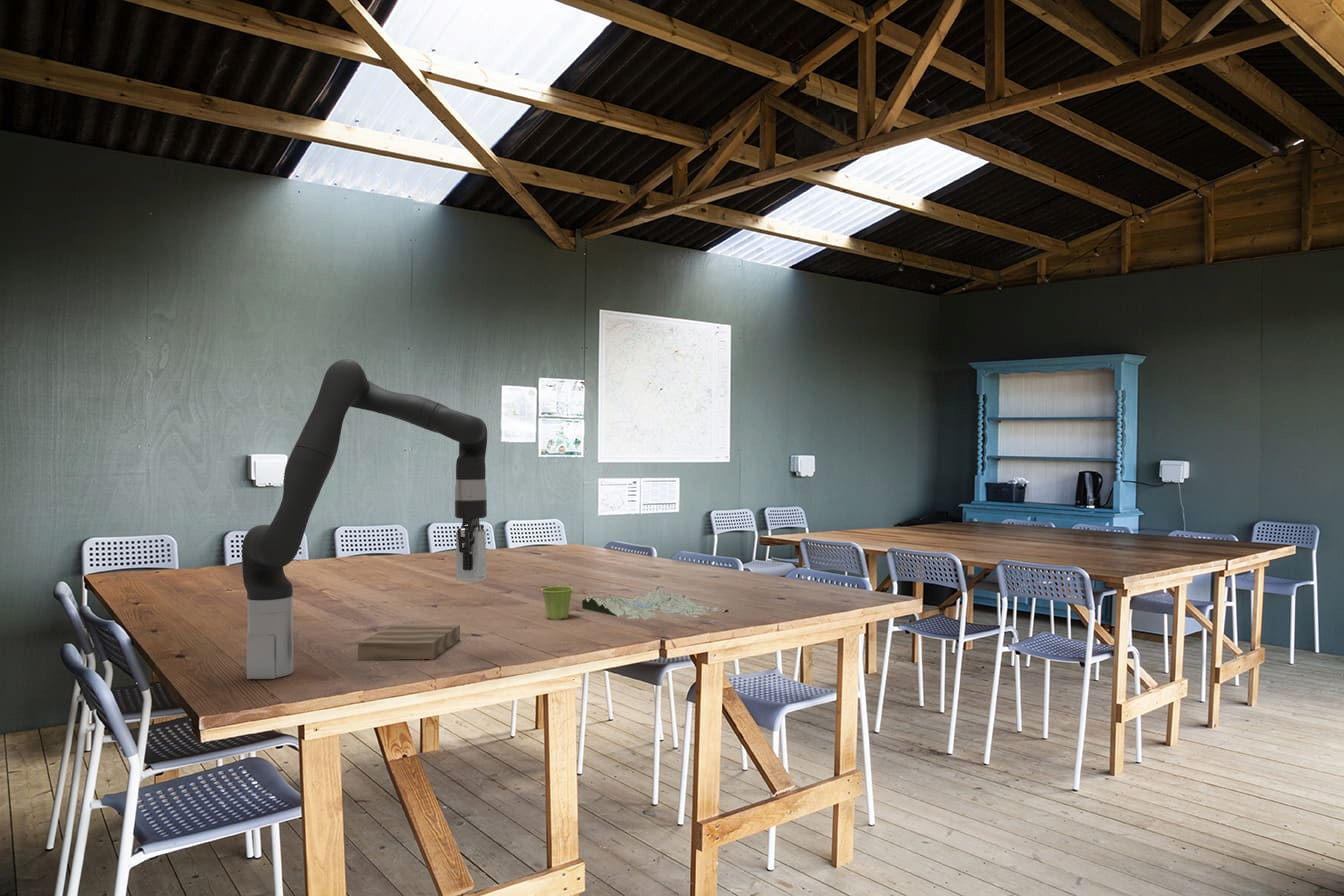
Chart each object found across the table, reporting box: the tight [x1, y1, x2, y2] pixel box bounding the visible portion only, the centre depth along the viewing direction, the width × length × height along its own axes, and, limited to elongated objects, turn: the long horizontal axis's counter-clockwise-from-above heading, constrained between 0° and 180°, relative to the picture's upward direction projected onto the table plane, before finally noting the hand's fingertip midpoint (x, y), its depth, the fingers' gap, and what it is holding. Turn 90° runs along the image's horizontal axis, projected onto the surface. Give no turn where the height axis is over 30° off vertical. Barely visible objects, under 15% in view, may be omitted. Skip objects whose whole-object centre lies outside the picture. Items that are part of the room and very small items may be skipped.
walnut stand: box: [357, 624, 461, 661], centre depth 220 cm, size 22×18×4 cm
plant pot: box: [540, 585, 574, 621], centre depth 260 cm, size 9×9×9 cm
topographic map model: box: [581, 585, 729, 621], centre depth 272 cm, size 36×29×5 cm
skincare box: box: [455, 530, 487, 582], centre depth 213 cm, size 6×4×12 cm
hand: (471, 568), depth 213 cm, fingers closed on skincare box, 4 cm apart
